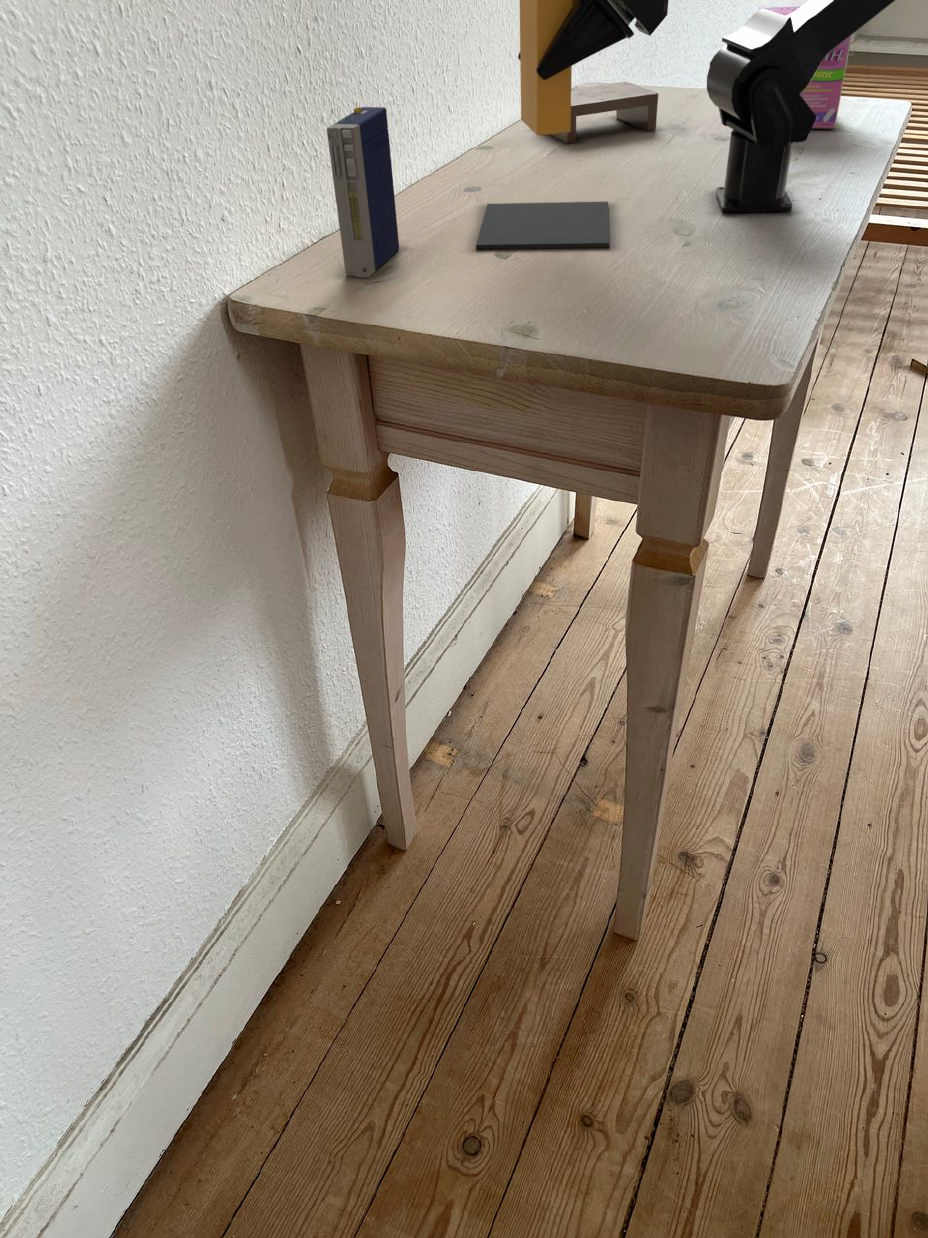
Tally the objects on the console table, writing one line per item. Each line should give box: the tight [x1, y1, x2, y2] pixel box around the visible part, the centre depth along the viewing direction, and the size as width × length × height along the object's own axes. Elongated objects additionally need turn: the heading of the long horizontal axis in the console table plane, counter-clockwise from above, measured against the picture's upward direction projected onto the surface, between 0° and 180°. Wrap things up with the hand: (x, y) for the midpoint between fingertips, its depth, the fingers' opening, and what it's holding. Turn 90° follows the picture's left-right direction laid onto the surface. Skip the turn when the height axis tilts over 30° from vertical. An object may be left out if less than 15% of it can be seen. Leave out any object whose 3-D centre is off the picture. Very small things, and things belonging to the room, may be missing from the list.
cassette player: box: [326, 106, 400, 279], centre depth 80 cm, size 7×2×12 cm, turn 162°
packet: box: [519, 0, 573, 136], centre depth 80 cm, size 3×6×10 cm, turn 11°
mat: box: [475, 201, 610, 250], centre depth 89 cm, size 12×12×1 cm
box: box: [758, 6, 853, 130], centre depth 109 cm, size 10×6×12 cm, turn 76°
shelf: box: [548, 81, 659, 144], centre depth 114 cm, size 8×12×4 cm, turn 111°
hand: (530, 68), depth 80 cm, fingers closed on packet, 6 cm apart
